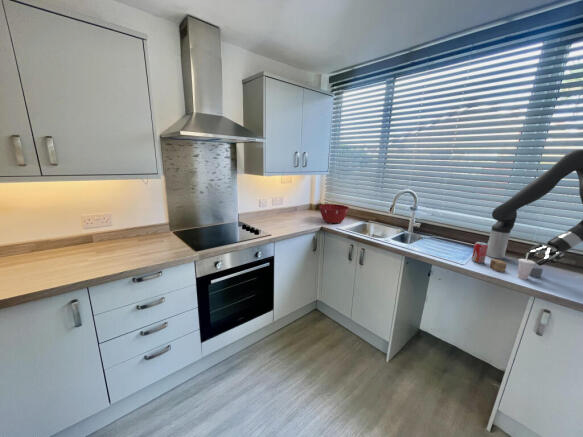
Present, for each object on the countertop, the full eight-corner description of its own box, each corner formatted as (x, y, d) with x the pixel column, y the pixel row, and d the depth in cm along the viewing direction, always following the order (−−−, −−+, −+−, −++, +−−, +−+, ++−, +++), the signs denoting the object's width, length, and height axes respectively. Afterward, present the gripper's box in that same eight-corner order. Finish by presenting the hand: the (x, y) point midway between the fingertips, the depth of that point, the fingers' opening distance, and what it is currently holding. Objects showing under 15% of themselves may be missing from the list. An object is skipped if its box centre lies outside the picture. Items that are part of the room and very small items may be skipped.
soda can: (477, 263, 145) (481, 244, 142) (468, 259, 151) (472, 241, 148) (486, 263, 145) (491, 244, 143) (478, 259, 151) (482, 241, 149)
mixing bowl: (341, 227, 216) (342, 210, 212) (313, 222, 231) (314, 206, 227) (351, 221, 239) (353, 206, 236) (325, 217, 254) (326, 203, 251)
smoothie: (522, 275, 131) (528, 251, 128) (534, 280, 125) (541, 255, 122) (510, 275, 131) (517, 250, 128) (522, 280, 125) (529, 255, 121)
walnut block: (489, 267, 141) (491, 259, 139) (499, 268, 140) (501, 260, 138) (494, 270, 136) (496, 262, 135) (504, 271, 135) (506, 263, 134)
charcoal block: (522, 272, 135) (525, 264, 134) (533, 273, 134) (535, 265, 133) (529, 276, 130) (531, 267, 129) (540, 277, 129) (542, 268, 128)
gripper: (547, 232, 127) (517, 250, 132) (572, 240, 113) (537, 261, 118) (556, 243, 127) (526, 261, 132) (582, 252, 114) (547, 272, 118)
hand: (531, 261), depth 125 cm, fingers open, 8 cm apart
